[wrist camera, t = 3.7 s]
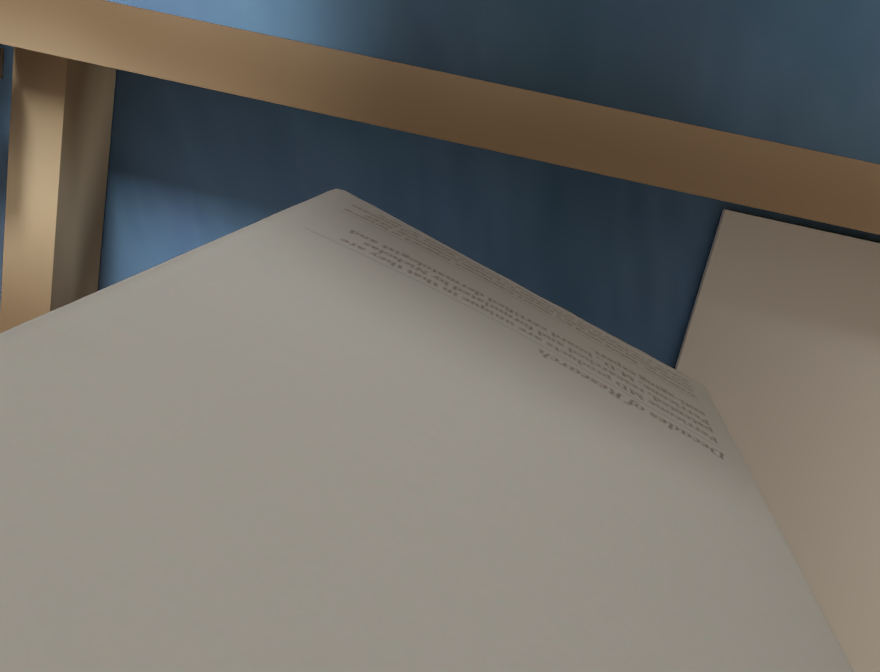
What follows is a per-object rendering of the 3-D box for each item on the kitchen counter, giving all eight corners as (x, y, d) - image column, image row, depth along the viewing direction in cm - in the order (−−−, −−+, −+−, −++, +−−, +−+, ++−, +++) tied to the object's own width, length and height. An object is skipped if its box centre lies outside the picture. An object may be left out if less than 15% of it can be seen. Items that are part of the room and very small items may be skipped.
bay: (72, -2, 18) (-16, -25, 15) (1150, 226, 17) (1275, 248, 14) (34, 541, 22) (-41, 602, 19) (900, 769, 21) (957, 874, 18)
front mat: (723, 208, 18) (725, 209, 18) (1118, 295, 17) (1125, 296, 17) (592, 637, 21) (592, 642, 21) (921, 723, 20) (925, 728, 20)
